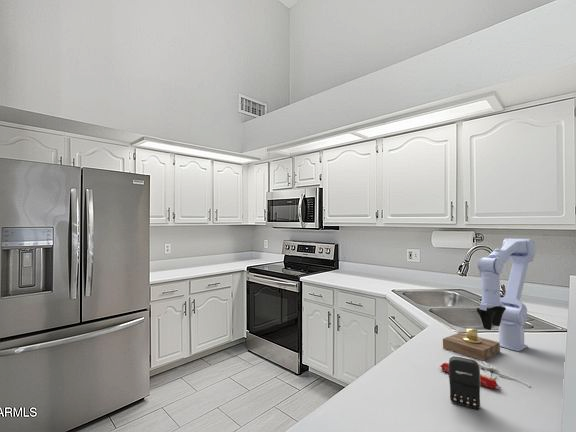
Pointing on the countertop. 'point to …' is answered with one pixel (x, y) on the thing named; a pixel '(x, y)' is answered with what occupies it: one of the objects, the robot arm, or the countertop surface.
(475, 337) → the pin
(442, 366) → the candy bar
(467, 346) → the hitch block
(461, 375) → the battery charger
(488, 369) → the pliers
